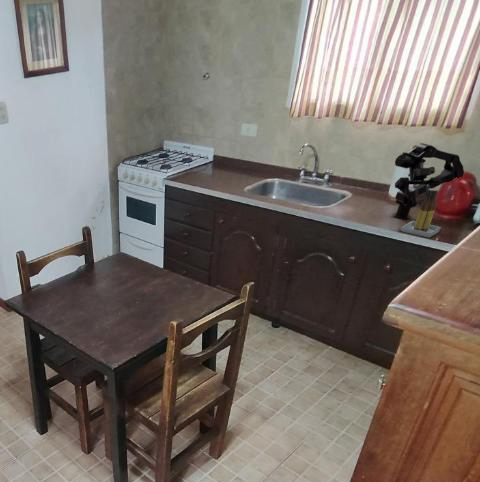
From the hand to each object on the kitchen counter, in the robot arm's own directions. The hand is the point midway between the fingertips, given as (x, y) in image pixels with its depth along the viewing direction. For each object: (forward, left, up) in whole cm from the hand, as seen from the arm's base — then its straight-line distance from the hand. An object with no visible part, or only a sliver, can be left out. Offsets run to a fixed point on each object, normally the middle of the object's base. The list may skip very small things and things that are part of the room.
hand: (418, 198), depth 233 cm
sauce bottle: (+7, +5, -13) cm, 16 cm away
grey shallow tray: (+7, +5, -14) cm, 16 cm away
